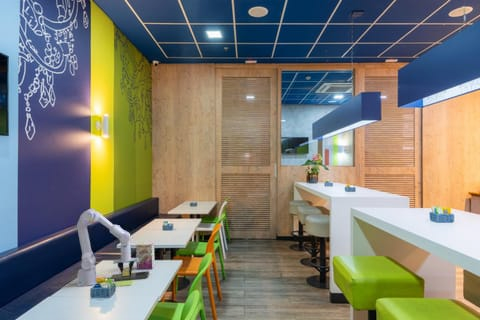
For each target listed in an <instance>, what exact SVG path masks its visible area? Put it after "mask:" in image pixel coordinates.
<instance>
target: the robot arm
mask: <svg viewBox="0 0 480 320" xmlns="http://www.w3.org/2000/svg"><path fill="white" fill-rule="evenodd" d="M91 221H92V222H99V224H102V225H103V226H105V227H106V228H107V229H108V230H109V233H110V234H112V235H113V236H114V237H115V238H117V239H118V240H119V242H120V258H119V259H113V261H112V262H113V264H114V265H116V264H117V267H118V269H119V271H120V274H122V271H123V269H124V264H126V263H128V268H129V274H131V273H133V272H132V271H133V267H134V264H135V263H136V262H138V261H139V260H138V258H136V257H132V253H131V252H132V251H131V234H130V232H129V231H127V230H124V229H123V228H122V227H121V226H120V225H119V224H118V225H117V224H113V223H112V222H111V221H110V220H108V219H107V218H106V217H105V216H104V215H102V213H100V212H99V211H96V209H94V208H89V209H87V210H85V211H83V213H81V215H80V216H79V219H78V221H77V223H76V227H77V233H78V238H79V244H80V249H81V253H82V254H81V263H80V267H81V268H79V270H77V287H85V286H95V285H96V283H97V282H96V279H97V271H96V270H97V269H96V265H95V264H96V262H97V259H96V256H95V255H94V252H93V250H92V247H91V241H90V235H89V231H88V225H89V223H90V222H91Z"/></svg>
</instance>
